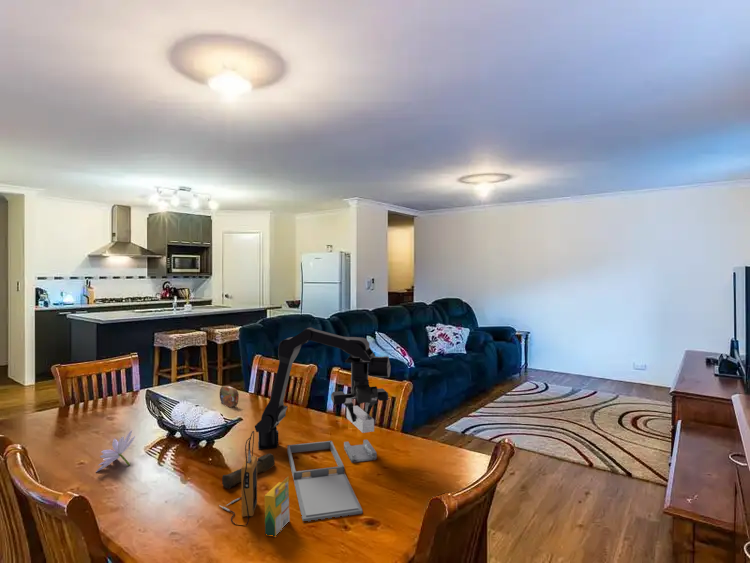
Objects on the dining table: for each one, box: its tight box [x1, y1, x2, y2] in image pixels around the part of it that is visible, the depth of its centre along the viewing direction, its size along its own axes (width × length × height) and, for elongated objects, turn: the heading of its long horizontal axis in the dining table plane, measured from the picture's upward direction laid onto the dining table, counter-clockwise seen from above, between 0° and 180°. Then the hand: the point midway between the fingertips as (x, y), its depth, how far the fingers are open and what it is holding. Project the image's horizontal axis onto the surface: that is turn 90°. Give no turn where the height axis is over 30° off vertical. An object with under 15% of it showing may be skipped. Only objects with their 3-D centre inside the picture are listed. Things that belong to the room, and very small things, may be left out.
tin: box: [219, 385, 239, 408], centre depth 213 cm, size 15×3×8 cm, turn 43°
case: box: [286, 440, 363, 522], centre depth 139 cm, size 15×45×2 cm, turn 16°
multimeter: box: [218, 430, 258, 526], centre depth 120 cm, size 15×10×20 cm
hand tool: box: [221, 453, 276, 489], centre depth 140 cm, size 19×4×5 cm, turn 143°
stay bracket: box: [343, 439, 378, 463], centre depth 157 cm, size 8×12×2 cm
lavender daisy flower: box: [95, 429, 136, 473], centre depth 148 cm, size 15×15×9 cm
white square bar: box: [346, 405, 375, 434], centre depth 156 cm, size 4×16×4 cm, turn 22°
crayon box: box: [264, 475, 290, 537], centre depth 112 cm, size 7×3×12 cm, turn 163°
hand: (359, 421), depth 156 cm, fingers closed on white square bar, 4 cm apart
